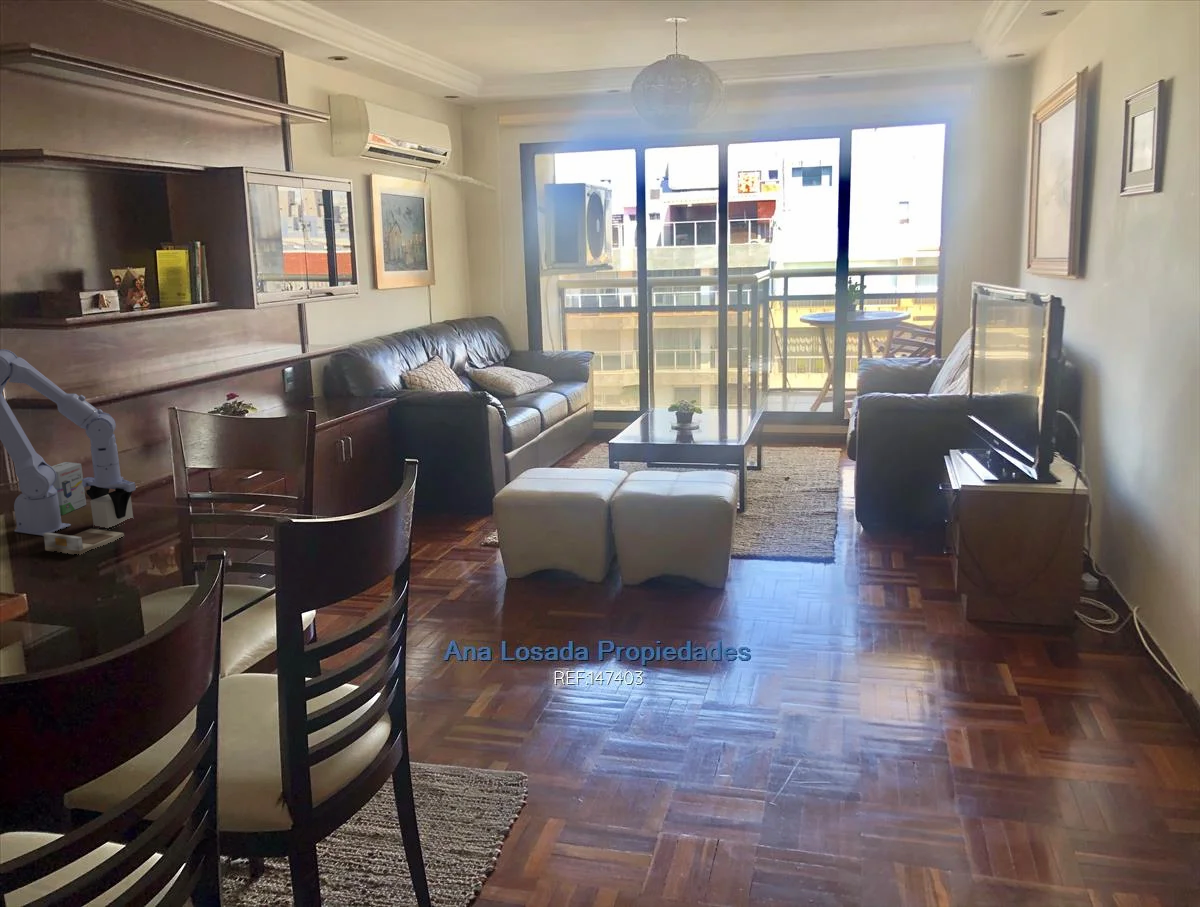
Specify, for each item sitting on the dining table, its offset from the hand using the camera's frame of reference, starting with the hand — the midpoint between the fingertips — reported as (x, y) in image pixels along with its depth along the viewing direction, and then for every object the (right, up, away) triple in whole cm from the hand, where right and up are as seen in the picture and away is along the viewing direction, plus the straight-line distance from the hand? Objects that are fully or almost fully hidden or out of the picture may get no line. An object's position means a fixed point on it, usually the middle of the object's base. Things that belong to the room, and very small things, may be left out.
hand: (112, 516), depth 233 cm
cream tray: (+1, -5, -13) cm, 15 cm away
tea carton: (0, -2, 0) cm, 2 cm away
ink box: (-17, +1, +11) cm, 21 cm away
